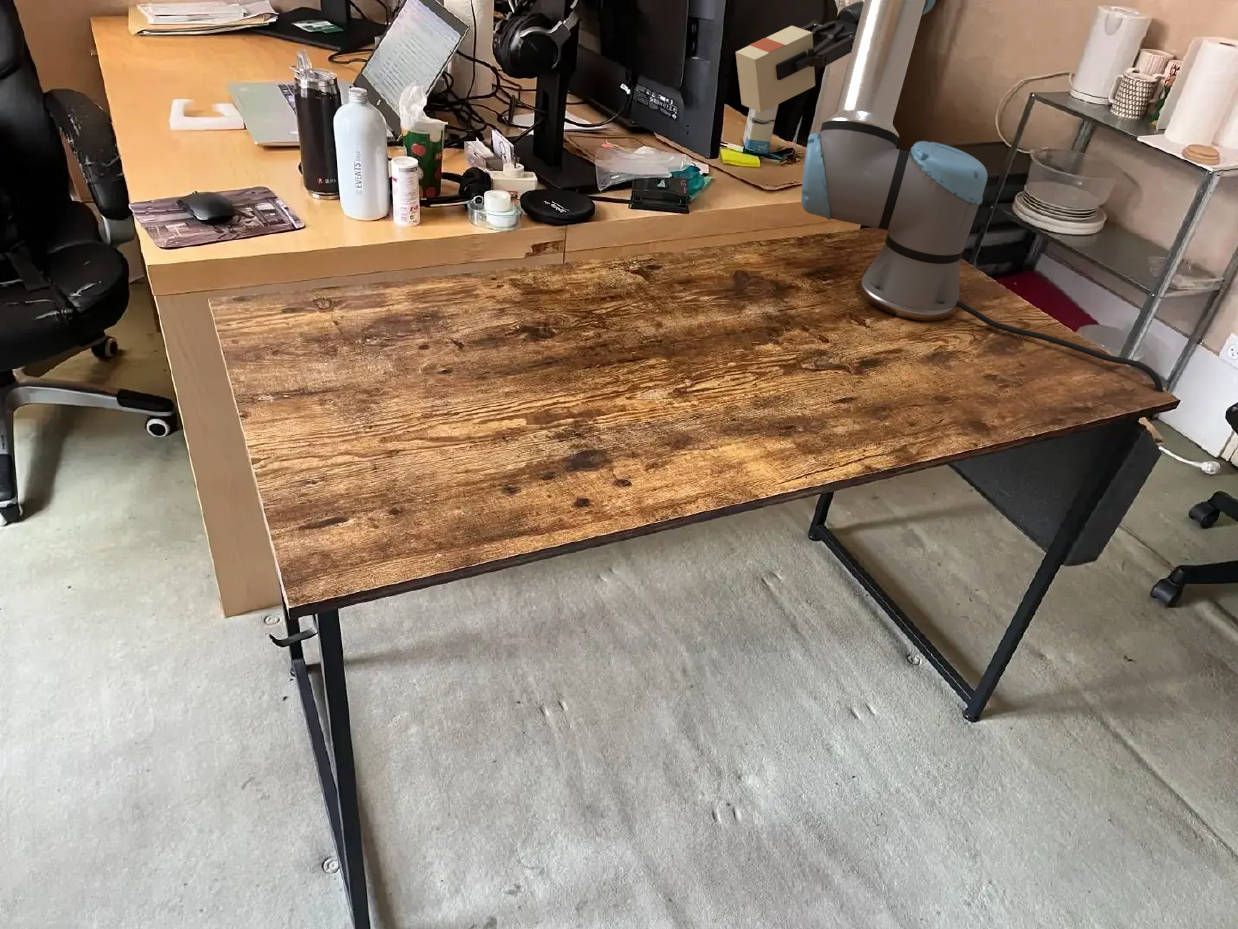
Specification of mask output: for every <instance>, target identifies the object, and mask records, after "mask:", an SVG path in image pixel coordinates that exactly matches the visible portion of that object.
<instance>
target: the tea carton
mask: <svg viewBox="0 0 1238 929" xmlns="http://www.w3.org/2000/svg"><path fill="white" fill-rule="evenodd" d="M808 48H809V49H810V48H814V47H813V35H812V32H810V31H807V30H804V29H801V27H797V26H794V25H790V26H788V27H785V28H783V29H781V30H780V31H777V32H774V33H773V34H770V35H768V36H767V37H763V38H761V39H759V40H756V41H755V42H753V43H750V44H748V45H747V46H745V47H742V48H741V49H738V50H736V51H735V58H736V59H735V60H736V68H737V76H738V85H739V94H740V101H741V102H740V103H741V105H742V106H744V107H747V108H748V109H750V108H751V109H753V110H755V111H757V112H760V113H761V112H763V111H765V110H767V109H769V108H771V107H773V106H775V105H777V104H782V103H783V102H785V101H788V100H789V99H791V98H793V97H795V96H798V95H800V94H802V93H804V92H806V91H808V90H810V89H812V88H814V87H815V86H816V73H815V66H814V67H809V66H808V67H806V68H804V69H802V70H800V71H798V72H796V73H794V74H792V75H790V76H788V77H786V78H784V79H782V80H777V73H776V65H777V64H779V63H781V62H783V61H785V60H787V59H789V58H791V57H793V56H795V55H798V54H800V53H802V52H804V51H805V52H807V55H808Z"/></svg>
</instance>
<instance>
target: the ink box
mask: <svg viewBox="0 0 1238 929" xmlns="http://www.w3.org/2000/svg"><path fill="white" fill-rule="evenodd" d="M779 104H780V103H779ZM779 104H777V105H775V106H773V107H771V108H769V109H767V110H765V111H763V112H761V113H760V112H757V111H755V110H753V109H751V108H748V109H749V110H748V114H747V118H746V123H745V128H744V133H743V136H742V140H743V144H744V148H745V149H746V148H755V149H752V150H754V151H753V152H752V154H753V153H754V154H762V155H768V154H769V150H770V146H771V141H772V136H773V132H774V129H775V128H774V127H775V123H776V119H777V118H776V117H777V113H778V109H779ZM758 149H760V150H758ZM748 153H751V152H750V151H749V152H748Z"/></svg>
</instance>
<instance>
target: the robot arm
mask: <svg viewBox="0 0 1238 929" xmlns="http://www.w3.org/2000/svg"><path fill="white" fill-rule="evenodd" d="M935 4H936V0H858V1H856V2H853V3H851V4H849V5H847V6H845V7H843V8H842V9H840V11H839V12H838V13H837V16H836V17H835V19H834V20H831V21H828V22H825V23H824V24H819V20H817V19H814V20H812V21H811V22H809V23H808V24H806V25H803V26H801V27H800V28H801V29H804V30H807V31H810V32H812V35H813V48H810V49H809V48H808V55H807V52H805V51H804V52H802V53H800V54H798V55H795V56H793V57H791V58H789V59H787V60H785V61H783V62H781V63H779V64H777V65H776V73H777V80H782V79H784V78H786V77H788V76H790V75H792V74H794V73H796V72H798V71H800V70H802V69H804V68H806V67H808V66H809V67H814V68H815V67H816V66H817V68H819V69H823V68H825V67H827V66H829V65H830V64H832V63H834V62H836V61H838V60H839V59H841V58H844V57H845V56H847V55H849V54H850V55H849V59H848V63H847V67H846V71H845V74H844V77H843V82H842V86H841V89H840V93H839V97H838V101H837V106H836V109H835V112H834V113H833V114H832V115H830V116H828V117H827V118H825V119H824V120H823V121H822V123H821V127H820V132H818V131H817V132H812V133H810V134H809V135H808V138H807V145H806V150H805V156H804V165H803V173H802V183H801V195H800V196H801V197H800V200H801V201H800V202H801V207H802V209H803V210H804V211H805V212H806V213H807V214H810V215H815V216H818V217H821V218H826V219H827V220H828V221H831V220H834V221H840V222H846V223H849V224H854V225H859V226H864V227H868V228H874V229H879V230H883V231H887V233H886V238H885V241H884V244H883V246H882V247H881V249H880V251H879V252H878V253H877V255H876V256H875V258H874V259H873V261H872V263H871V264H870V265H869V267H867V268H866V269H865V270H864V273H863V274H864V275H863V276H862V279H861V282H860V285H859V293H860V295H861V296H862V297H863V298H864V299H865V301H866V302H868V303H869V304H871V305H872V306H874V307H875V308H878V309H879V310H881V311H883V312H887V314H891V315H894V316H897V317H901V318H904V319H905V318H906V319H911V320H915V321H939V320H945V319H947V318H950V317H952V316H953V315H954V314H956V310H957V308H959V309H960V310H963V311H965V313H966V312H967V313H968V314H970V315H972V316H973V317H975V318H977V319H978V320H980V321H981V322H983V323H985V324H986V325H988V326H990V327H992V328H995V329H997V330H1001V331H1004V332H1006V333H1011V334H1016V335H1020V336H1025V337H1029V338H1033V339H1038V340H1041V341H1045V342H1048V343H1052V344H1056V345H1059V346H1061V347H1064V348H1067V349H1071V350H1074V351H1078V352H1080V353H1082V354H1086V355H1088V356H1091V357H1094V358H1097V359H1100V360H1103V361H1107V362H1111V363H1116V364H1121V365H1126V366H1130V367H1134V368H1137V369H1139V370H1141V371H1142V372H1144V373H1146V374H1147V376H1149V378H1150V379H1151V380H1152V382H1153V383H1154V388H1155V391H1156V392H1159V393H1163V392H1164V387H1163V382H1162V380H1161V378H1160V376H1159V375H1158V374H1157V372H1155V370H1153V369H1152V368H1151V367H1150V366H1148V365H1147V364H1145V363H1143V362H1140V361H1138V360H1134V359H1130V358H1126V357H1125V358H1124V357H1120V356H1115V355H1111V354H1107V353H1103V352H1101V351H1098V350H1095V349H1091V348H1089V347H1086V346H1084V345H1080V344H1077V343H1075V342H1072V341H1068V340H1065V339H1061V338H1058V337H1056V336H1052V335H1047V334H1045V333H1041V332H1036V331H1032V330H1028V329H1023V328H1022V329H1021V328H1019V327H1014V326H1011V325H1007V324H1003V323H1000V322H998V321H995V320H993V319H991V318H989V317H988V316H986V315H984V314H983V313H981V312H980V311H978V310H976V309H974V308H973V307H971V306H970V305H967V304H965V303H964V302H962V301H960V263H961V259H962V257H963V254H964V251H965V248H966V245H967V242H968V239H969V236H970V233H971V230H972V227H973V224H974V220H975V219H976V216H977V213H978V210H979V206H980V205H981V204H982V203H983V200H984V198H983V196H984V192H985V189H986V185H987V182H988V171H987V169H986V167H985V166H984V164H983V163H982V162H981V161H980V160H979V159H977V158H976V157H974V156H973V155H970V154H969V153H967V152H965V151H963V150H960V149H958V148H955V147H953V146H950V145H946V144H944V143H939V142H935V141H926V140H921V141H916V142H915V143H914V144H913V146H912V147H910V151H909V150H903V149H899V148H897V146H898V143H899V139H900V134H899V132H898V131H897V129H896V128H895V126H894V123H893V121H894V118H895V114H896V112H897V107H898V103H899V99H900V97H901V92H902V89H903V85H904V82H905V77H906V74H907V70H908V66H909V62H910V58H911V55H912V51H913V48H914V44H915V41H916V36H917V32H918V30H919V26H920V23H921V22H920V21H921V19H922V16H923V15H925V14H927V13H929V12H930V11H931V10H932V8H933V7H934V5H935Z"/></svg>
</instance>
